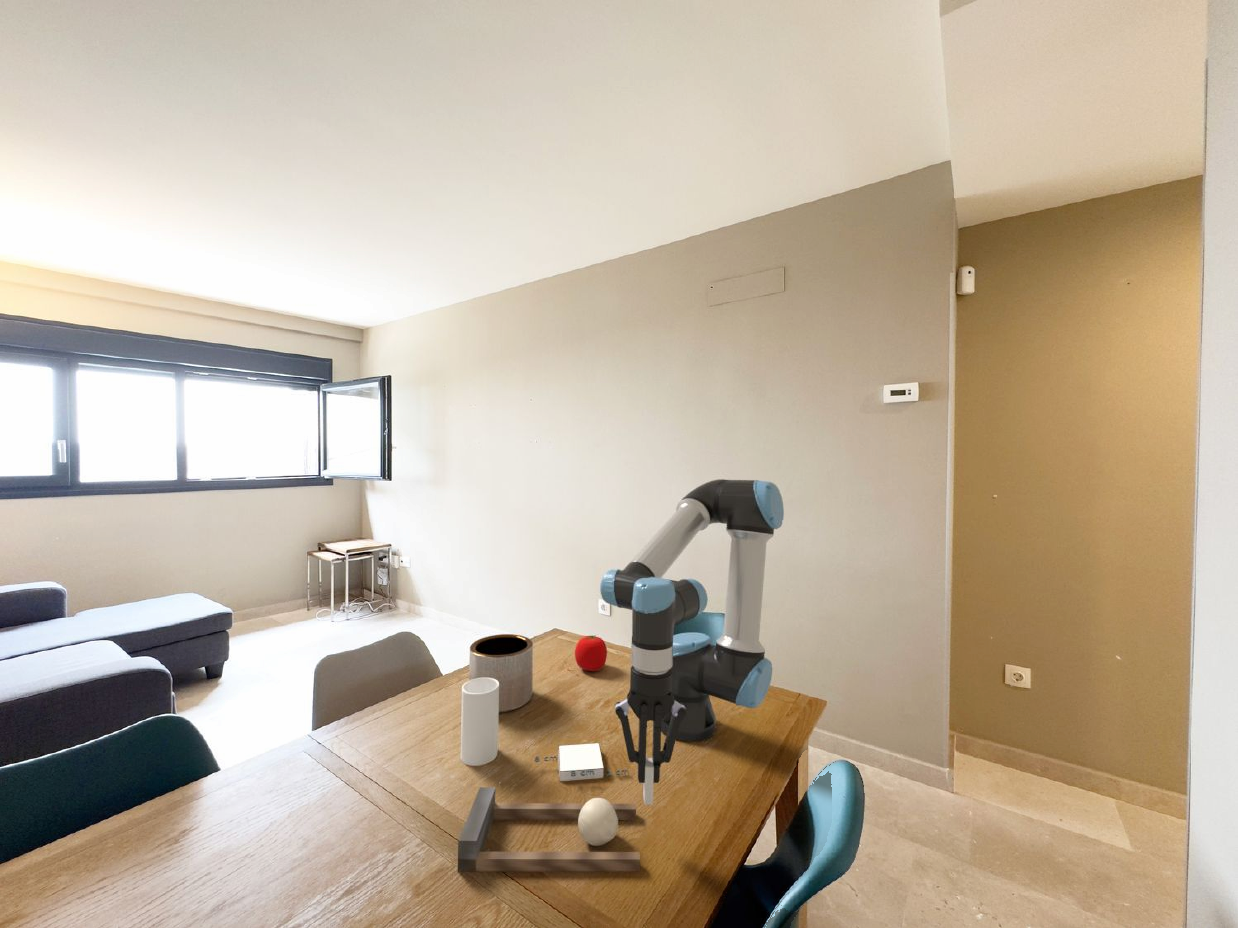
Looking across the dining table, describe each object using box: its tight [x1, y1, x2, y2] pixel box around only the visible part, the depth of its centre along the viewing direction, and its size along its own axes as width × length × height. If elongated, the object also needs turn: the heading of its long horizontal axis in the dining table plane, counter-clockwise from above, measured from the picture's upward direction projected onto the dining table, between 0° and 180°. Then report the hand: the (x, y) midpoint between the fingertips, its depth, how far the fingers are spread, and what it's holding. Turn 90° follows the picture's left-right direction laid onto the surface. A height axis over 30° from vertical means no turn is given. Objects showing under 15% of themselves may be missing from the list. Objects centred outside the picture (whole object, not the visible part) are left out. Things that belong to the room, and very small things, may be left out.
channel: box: [457, 786, 641, 872], centre depth 85 cm, size 30×13×5 cm, turn 91°
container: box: [534, 742, 630, 782], centre depth 105 cm, size 20×11×3 cm, turn 98°
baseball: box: [577, 797, 619, 847], centre depth 85 cm, size 7×7×7 cm
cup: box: [460, 678, 500, 767], centre depth 110 cm, size 8×8×16 cm
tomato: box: [574, 634, 608, 672], centre depth 157 cm, size 10×11×11 cm
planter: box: [468, 633, 534, 714], centre depth 136 cm, size 18×18×16 cm
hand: (647, 799), depth 85 cm, fingers closed
